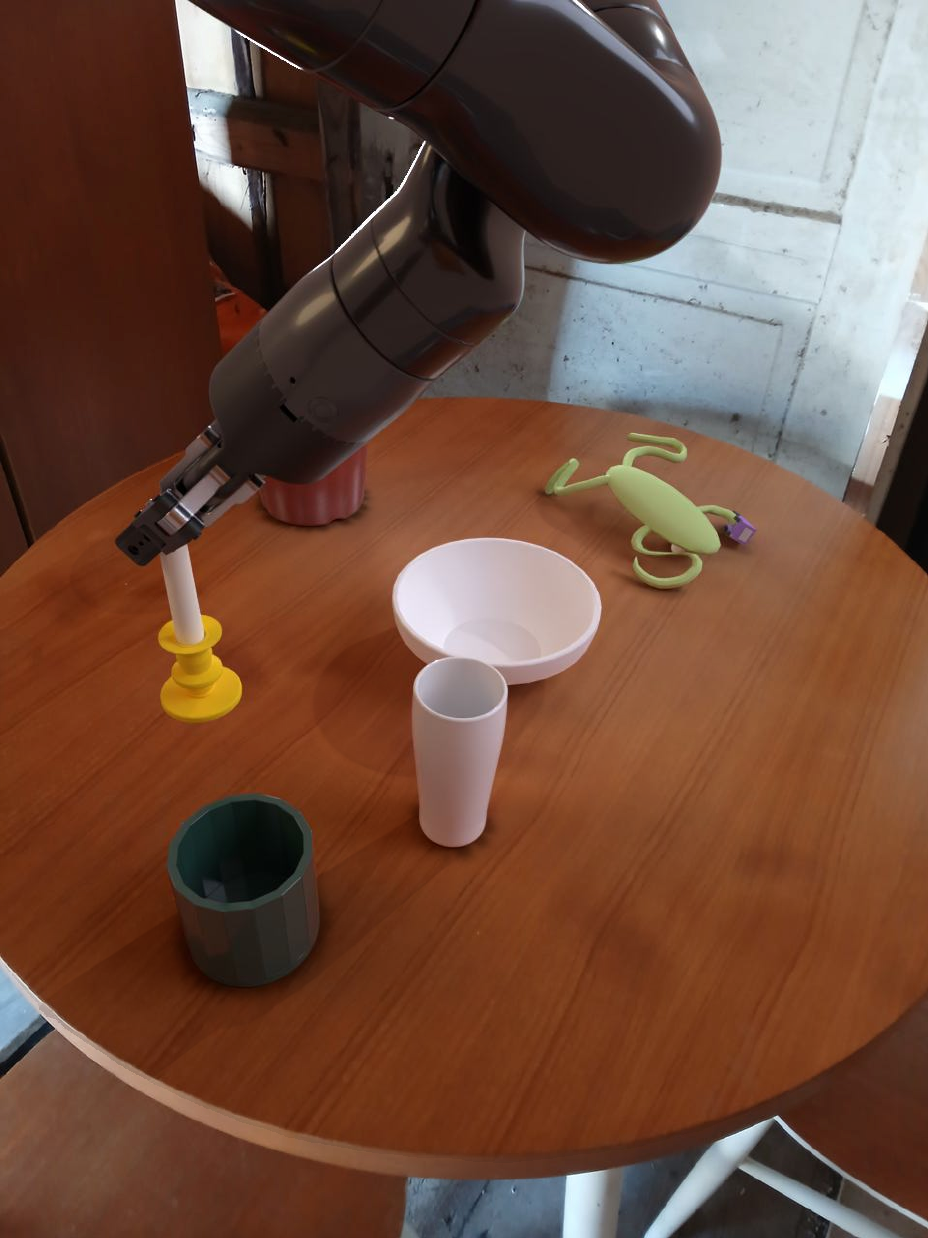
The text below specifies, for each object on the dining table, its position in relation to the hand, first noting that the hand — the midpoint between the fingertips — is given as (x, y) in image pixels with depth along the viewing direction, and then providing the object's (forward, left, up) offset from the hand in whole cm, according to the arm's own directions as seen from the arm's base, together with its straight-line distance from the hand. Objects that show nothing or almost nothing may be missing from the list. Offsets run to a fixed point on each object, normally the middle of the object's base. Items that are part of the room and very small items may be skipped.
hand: (140, 541), depth 53 cm
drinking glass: (+18, -8, -28) cm, 34 cm away
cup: (+1, -9, -28) cm, 29 cm away
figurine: (+62, +20, -28) cm, 70 cm away
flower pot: (+28, +42, -28) cm, 57 cm away
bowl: (+32, +8, -28) cm, 43 cm away
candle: (+2, -1, -12) cm, 12 cm away
